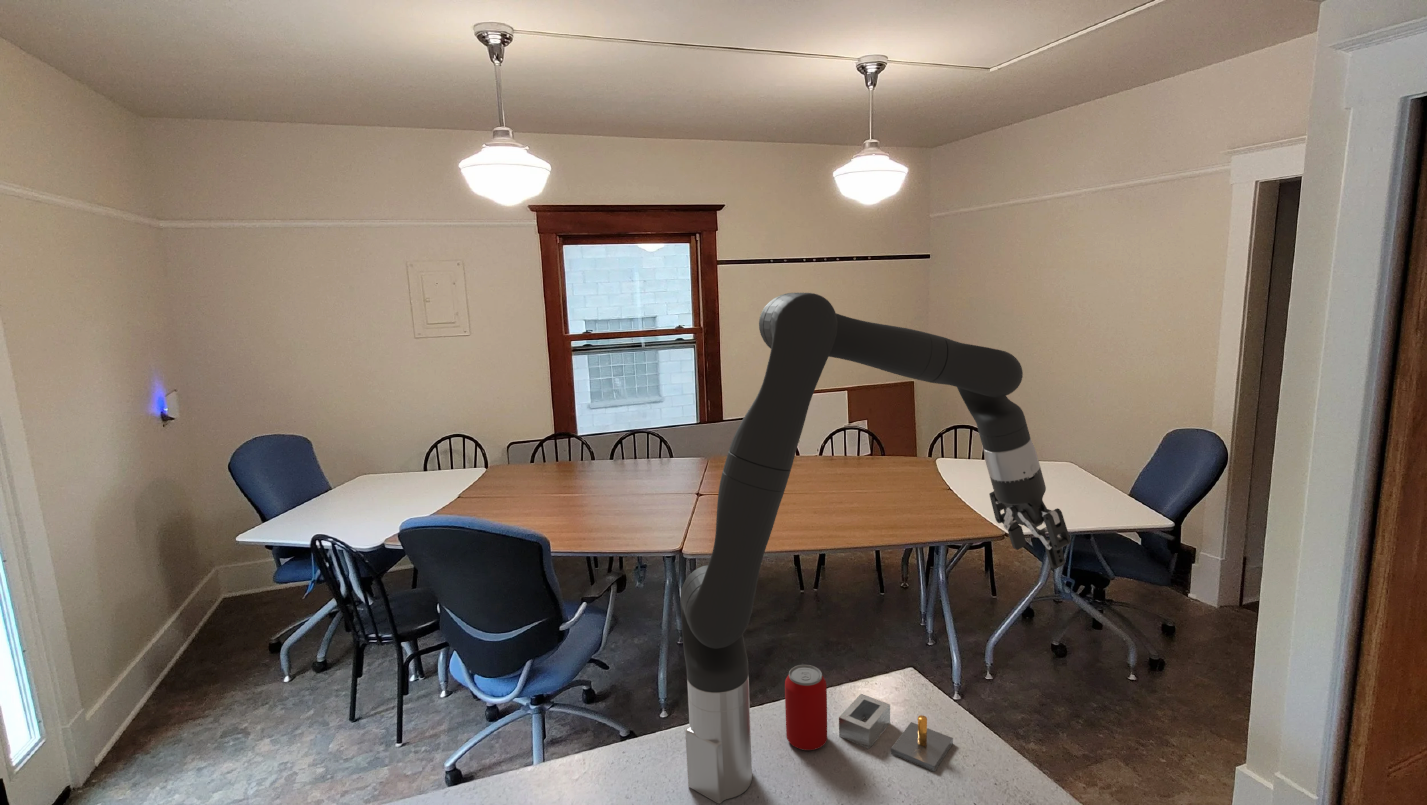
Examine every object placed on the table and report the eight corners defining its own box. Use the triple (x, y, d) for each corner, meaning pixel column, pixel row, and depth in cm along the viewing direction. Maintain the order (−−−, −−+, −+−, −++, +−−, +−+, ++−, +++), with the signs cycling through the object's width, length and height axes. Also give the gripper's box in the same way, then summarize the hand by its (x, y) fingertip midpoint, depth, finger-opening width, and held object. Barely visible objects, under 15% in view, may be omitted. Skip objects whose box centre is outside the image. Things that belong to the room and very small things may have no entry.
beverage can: (826, 727, 113) (825, 662, 111) (829, 755, 107) (827, 686, 105) (786, 726, 114) (784, 662, 112) (786, 753, 107) (784, 685, 105)
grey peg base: (934, 772, 102) (934, 740, 101) (891, 753, 106) (891, 722, 105) (952, 743, 108) (953, 713, 107) (911, 727, 112) (911, 698, 111)
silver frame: (869, 749, 108) (868, 729, 107) (839, 736, 111) (838, 717, 110) (890, 723, 114) (890, 704, 113) (861, 711, 117) (861, 693, 116)
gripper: (965, 467, 111) (990, 551, 115) (1026, 489, 98) (1052, 583, 101) (1002, 449, 113) (1026, 532, 116) (1067, 468, 99) (1091, 562, 103)
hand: (1038, 556), depth 109 cm, fingers open, 8 cm apart
